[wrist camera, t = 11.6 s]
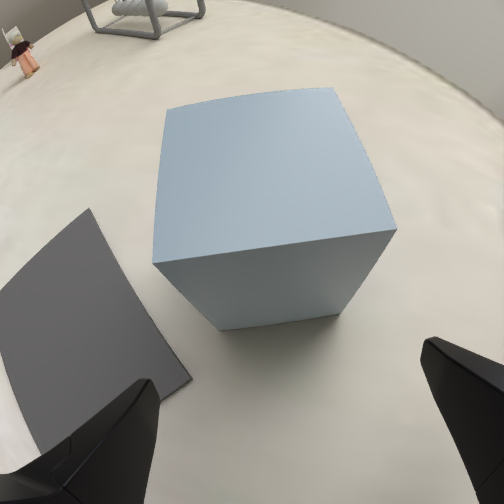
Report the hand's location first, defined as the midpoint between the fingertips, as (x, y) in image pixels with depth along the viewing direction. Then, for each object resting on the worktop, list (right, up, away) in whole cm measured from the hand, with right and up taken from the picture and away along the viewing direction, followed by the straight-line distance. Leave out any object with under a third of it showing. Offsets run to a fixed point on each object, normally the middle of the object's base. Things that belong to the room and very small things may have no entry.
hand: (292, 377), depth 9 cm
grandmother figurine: (-50, +44, +36) cm, 76 cm away
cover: (0, +3, +10) cm, 11 cm away
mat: (-15, -2, +9) cm, 18 cm away
